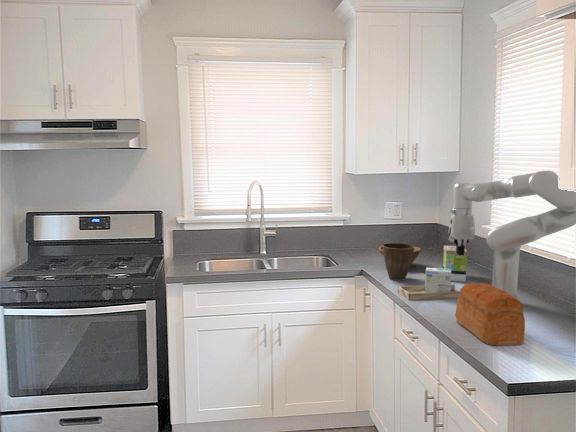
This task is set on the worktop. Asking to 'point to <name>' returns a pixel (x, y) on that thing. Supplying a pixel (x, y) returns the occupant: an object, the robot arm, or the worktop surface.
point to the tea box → (455, 263)
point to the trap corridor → (419, 293)
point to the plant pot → (398, 259)
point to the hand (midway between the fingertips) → (460, 254)
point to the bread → (490, 314)
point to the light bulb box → (437, 280)
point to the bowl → (415, 254)
